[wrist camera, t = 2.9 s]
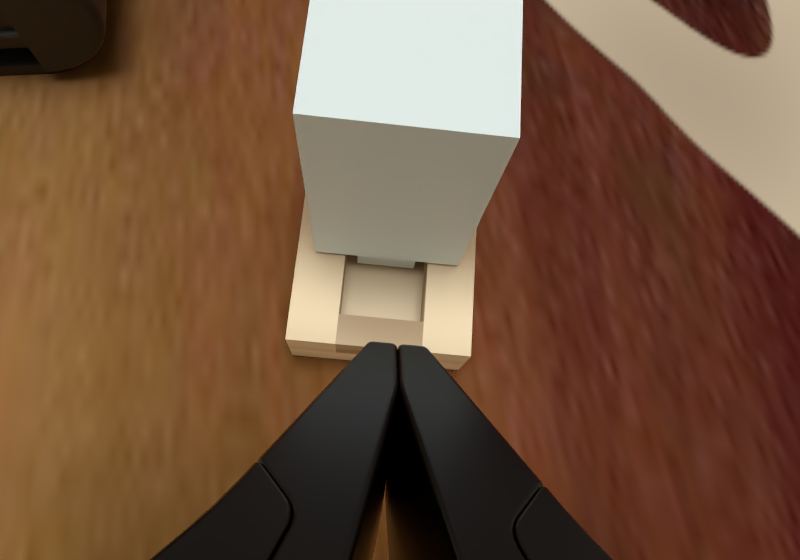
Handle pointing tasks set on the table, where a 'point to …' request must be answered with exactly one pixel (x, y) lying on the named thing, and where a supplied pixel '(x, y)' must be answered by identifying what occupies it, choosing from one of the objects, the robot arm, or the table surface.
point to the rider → (406, 123)
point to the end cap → (49, 34)
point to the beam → (379, 304)
